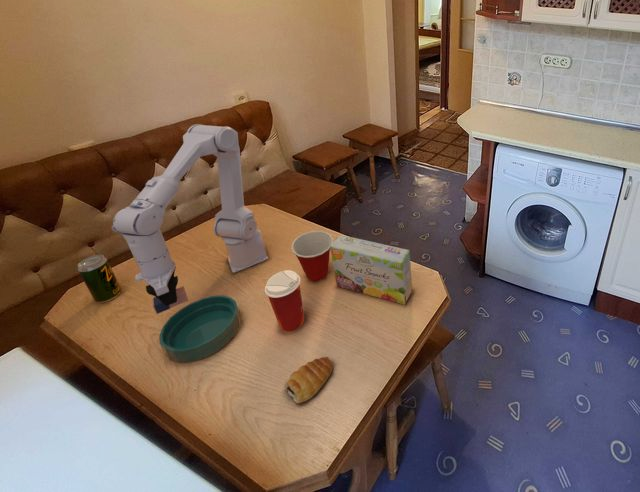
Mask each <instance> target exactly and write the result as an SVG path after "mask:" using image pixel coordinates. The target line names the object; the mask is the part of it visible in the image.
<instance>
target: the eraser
mask: <svg viewBox="0 0 640 492" xmlns="http://www.w3.org/2000/svg"><path fill="white" fill-rule="evenodd" d="M176 294H177V302H175V303H173V304H171V305H168V306H165V305H164V304H163V303H162V302H161V301H160V300H159V299H158V298H157V297H155V296H153V298H151V300H152V301H151V302H152V308H153V310H154V312H155V315H158V314H161V313H163V312H165V311H169V310H170V309H172V308H174V307H176V306H179V305H181V304H184V303H186V302H188V301H189V299H188V295H187V292H186V288H185V287H184V286H180V287H178V288H177V287H176Z"/></svg>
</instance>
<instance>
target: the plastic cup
mask: <svg viewBox="0 0 640 492" xmlns="http://www.w3.org/2000/svg"><path fill="white" fill-rule="evenodd" d="M333 242H334V238H333V237H332V234H330V233H328V232H327V231H323V230H311V231H308V232H304V233H302V234H299V236H297V237H296V238H295V239H294V240H293V241H292V244H291V247H290V248H291V251H292V253H293V254H294V255H295V257H296V258H297V260H298V261H299V264H300V266H301V268H302V270H303V272H304V274H305V276H306V278H307V280H308V281H310V282H314V283H316V282H320V281H322V280H324V279H325V278H326V277H327V276H328V274H329V268H330V267H329V264H330V254H331V249H330V245H331V244H332V243H333Z"/></svg>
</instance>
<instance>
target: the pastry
mask: <svg viewBox="0 0 640 492" xmlns="http://www.w3.org/2000/svg"><path fill="white" fill-rule="evenodd" d="M333 369H334V364H333V362H332V361H331V359H330V357H329V356H325V357H323V356H322V357H319V358H314V359H313V360H312V361H308V362H307V363H306V364H304V365H301V366H300V367H299V368H298V370H296V371H295V370H294V371H293V372H292V373H291V374H290V376H289V378H288V379H287V380H286V382H285V383H284V388H285V389H286V390H287V394H288V395H289V396H290V397H292V398H293V401H294V402H295V404H302V403H304V402H307V401H309V400H311V398H313V397H314V396H315V395H316V394H317V393H319V391H320V389H321V388H322V387H323V386H324V384H325V383H326V382H327V380H328V379H329V377H330V376H331V374H332V371H333Z"/></svg>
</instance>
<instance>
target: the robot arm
mask: <svg viewBox="0 0 640 492" xmlns="http://www.w3.org/2000/svg"><path fill="white" fill-rule="evenodd" d="M182 142H183V143H182V145H181V146H180V148H179V149H178V151H177V152H176V153H175V155H174V156H173V158H172V160H171V161H170V163H169V164H168V166H167V167H166V169H165V170H164V172H163V173H162V174H161V175H156V176H153V177H151V179H148V180H147V182H146V183H145V186H144V188H142V190H141V191H140V193H138V195H137V196H136V197H135V199H133V201H132V202H131V203H130V205H129V206H126V207H124V208H122V209H121V210H119V211H117V213H116V214H115V215H114V217H113V220H112V226H111V229H112V231H114V232H115V233H117V234H120V235H121V236H122V237H123V239H124V240H125V241H126V244H127V246H128V248H129V251H130V252H131V254H132V256H133V259H134V261H135V263H136V265H137V268H138V269H139V273H136V274H135V277H134V279H135V282H141V281H143V282H145V283H146V284H148V285H145V291H146V293H147V294H148V295H151V296H153V297H157V298H158V299H159V300H160V301H161V302H162V303H163V304H164V305H165V306H168V305H171V304H173V303H175V302H177V294H176V289H177V286H178V283H179V275H176V276H175V272H176V269H177V266H176V265H177V264H176V263H175V261H174V260H173V258H172V255H171V253H170V250H169V248H168V245H167V243H166V240H165V237H164V236H163V233H162V230H161V227H162V226H163V223H164V216H165V214H166V209H167V208H168V206H169V205H170V203H171V202H172V200H173V199H174V198H175V196H176V195H177V194H178V193H179V191H180V183H179V182H180V181H181V179H182V178H183V177H184V176H185V175H186V174H187V173H188V172H189V171H190V169H191V168H192V167H193V166H194V165H195V164H196V163H197V162H198V160H199V159H200V158H201V157H205V156H210V155H213V156H215V157H216V159H217V171H218V181H219V191H220V203H221V209H220V210H219V211H218V212H217V213H216V214H215V215H214V219H215V221H214V224H213V233H214V235H215V236H216V237H218V238H220V239H221V241H223V242H224V246H225V248H226V252H227V255H228V258H227V261H228V264H229V266H230V269H231V273H232V274H235V273H238V272H240V271H243V270H246V269H248V268H250V267H252V266H255V265H257V264H260V263H262V262H265V261H267V260H268V259H269V257H268V254H267V248H266V245H265V242H264V239H263V236H262V233H261V230H260V229H259V228H258V222H257V221H256V219H255V214H254V211H252V210H251V209H250V208H248V207H246V206H245V199H244V185H243V173H242V160H241V149H240V148H241V147H240V145H239V144H240V143H239V133H238V131H237V130H235V129H234V128H232V127H230V126H217V125H205V124H200V123H196V124H192V125H190V127H189V128H188V129H187V131H186V132H185V133H184V134H183V135H182Z"/></svg>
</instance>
